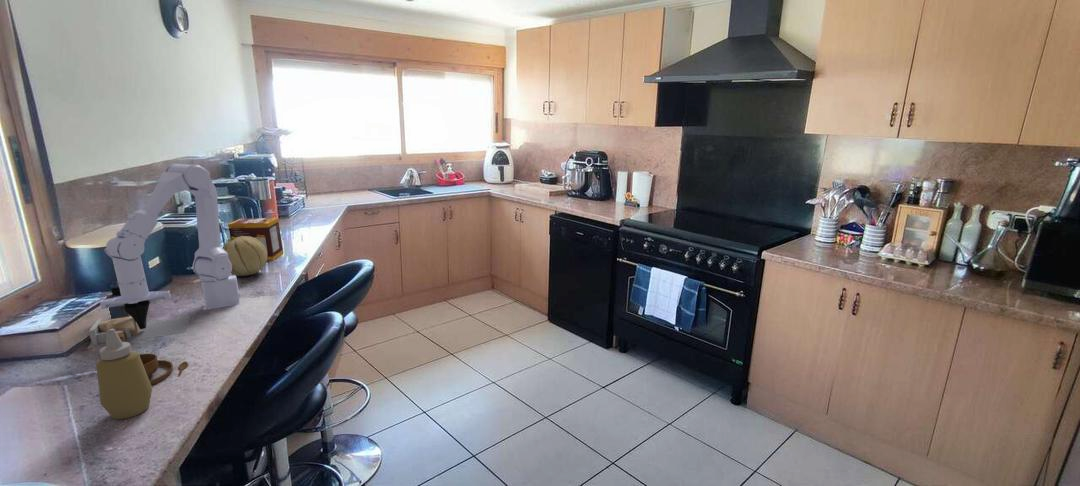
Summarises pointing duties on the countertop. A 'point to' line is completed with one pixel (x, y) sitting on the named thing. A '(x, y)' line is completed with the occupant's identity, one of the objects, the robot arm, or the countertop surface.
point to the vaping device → (116, 310)
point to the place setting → (153, 364)
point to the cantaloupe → (245, 255)
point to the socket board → (141, 331)
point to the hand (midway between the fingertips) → (143, 327)
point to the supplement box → (260, 233)
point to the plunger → (121, 333)
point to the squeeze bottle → (122, 379)
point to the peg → (120, 325)
